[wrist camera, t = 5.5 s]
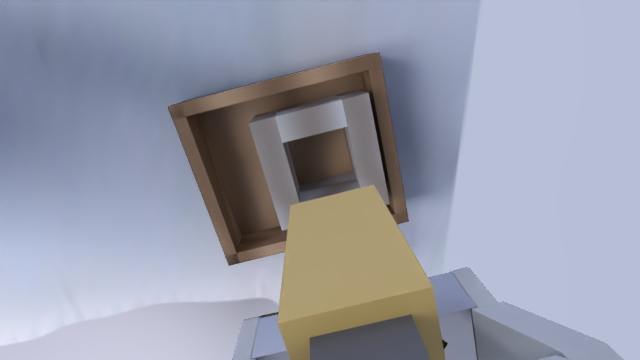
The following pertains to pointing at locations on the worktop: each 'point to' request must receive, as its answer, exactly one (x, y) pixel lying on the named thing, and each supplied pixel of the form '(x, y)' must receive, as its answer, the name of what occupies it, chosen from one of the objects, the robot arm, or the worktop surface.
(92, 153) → the worktop surface
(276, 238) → the walled box
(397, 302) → the connector
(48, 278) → the worktop surface
